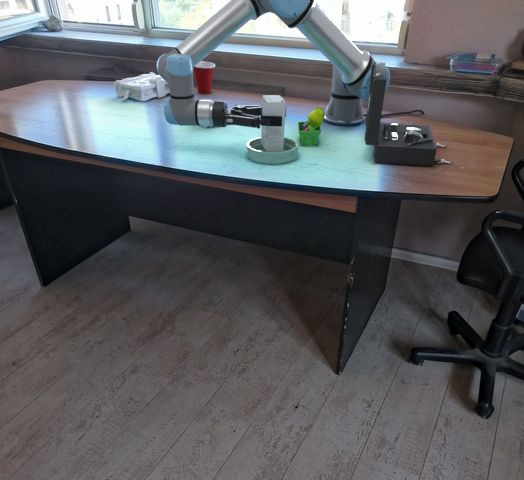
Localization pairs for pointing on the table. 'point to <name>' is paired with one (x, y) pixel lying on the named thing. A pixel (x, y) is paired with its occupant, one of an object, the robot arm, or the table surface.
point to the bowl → (260, 155)
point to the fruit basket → (311, 127)
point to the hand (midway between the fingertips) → (283, 116)
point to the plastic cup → (204, 76)
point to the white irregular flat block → (142, 87)
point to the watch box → (395, 131)
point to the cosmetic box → (273, 134)
